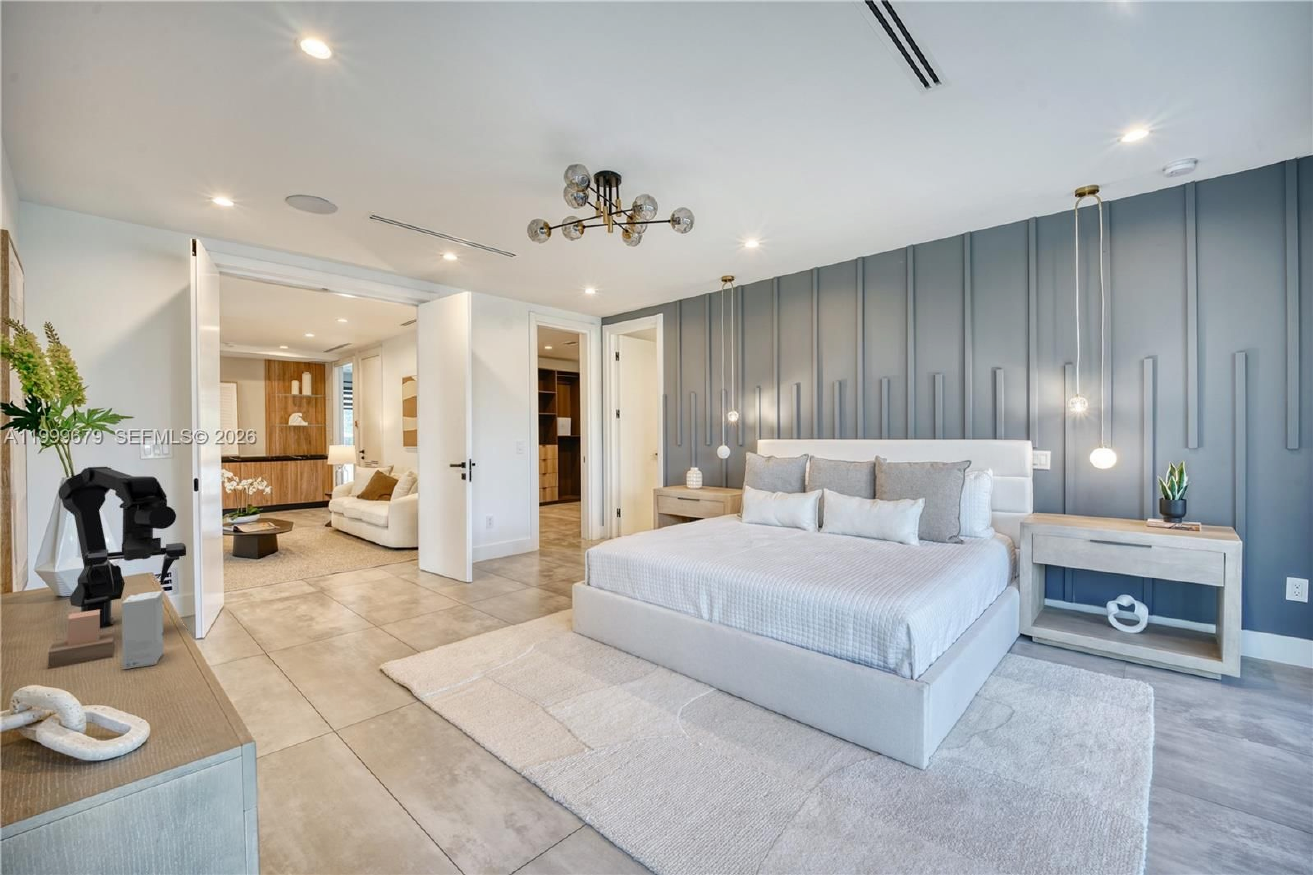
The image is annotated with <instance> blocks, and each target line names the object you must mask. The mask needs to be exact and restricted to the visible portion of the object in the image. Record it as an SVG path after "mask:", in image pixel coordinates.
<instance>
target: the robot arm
mask: <svg viewBox="0 0 1313 875" xmlns="http://www.w3.org/2000/svg"><path fill="white" fill-rule="evenodd" d="M110 490H112V491H115V494H114V495H115V497H118V498H119V499H120V500H121V502H122V503H120V504H119V508H120V509H122V540H121V542H122V543H121V551H112V552H109V549H108V548H107V544H106V543H107V542H106V538H105V534H104V528H103V523H102V519H101V518H102V517H101V513H100V511H101V508H102V506H103V505H104V504H105V503H106V502H105V501H106V495H107V494H108V493H109V491H110ZM58 497H59V499H60V500H61V502H62V506H63V509H66V511H68V512H69V513H71V515H73V516H74V517H73V518H74V520H75V521H74V522H75V527H76V532H77V537H78V542H79V548H80V554H81V558H82V559H81V560H82V563H83V564H82V565H83V569H82V570H81V573H80V574H79V576H78V578H77V580H76V582H77V585H76V587H75V589H74V590H73V592H72V593H71V595H70V596H69V601H70V606H73V607H77V608H80V612H86V611H93V610H100V628H103V627H109V626H114V617H112V601H115V600H121V599H122V597H123V593H124V587H125V584H126V583H125V579H124V577H123V575H122V568H121V567H120V565H117V564H116V565H115V564H113V563H112V562H111V561H113V560H122V559H124V561H127V562H130V561H135V560H146V559H150V558H151V557H154V556H163V560H162V567H161V572H160V578H159V579H160V580H159V583H160V585H161V586H162V585H163V584H164V581H165V580H166V576H167V574H168V572H169V570H170V568H171V566H172V564H173V563H174V562H175V561H178V560H180V557H185V556H187V546H186V544H185V543H184V542H178V543H177V542H175V543H174V542H173V543H165V547H162V546H161V545H162V537H154V529H157V530H165V529H167V528H170V527H171V526H172V525H174V523H175V521H176V519H177V514H176V512H175V510H174V509H173V508H172V507H170V506H168V500H167V497H168V495H167V494H166V493H165V491H164V490H163V488H162V485H161V483H160V482H159V481H158V479H157V478H156V477H155V476H147V475H145V476H140V475H138V476H134V475H130V474H127V473H124V472H121V471H118V470H115V469H113V468H111V467H108V466H88V467H85V468H84V469H82V471H81V472H80V473H78V474H75V475H73V476H71V477H69V478H67V479H66V480H65V481H64V482H63V483H62V485H61V486H60V487H59V489H58Z"/></svg>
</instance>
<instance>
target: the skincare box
mask: <svg viewBox="0 0 1313 875" xmlns="http://www.w3.org/2000/svg"><path fill="white" fill-rule="evenodd" d="M163 595H164V594H163V590H158V591H151V592H143V593H136V594H130V595H129V596H128V597H126V598H125V599H124V601H122V603H121V653H122V654H121V658H122V660H121V664H122V666H121V668H122V670H127V669H128V670H129V669H133V668H134V669H135V668H140V667H141V668H143V667H150V666H155V665H157V664H158V662H159V659H160V657H161V658H162V655H163V654H164V609H163V600H164V599H163V597H164V596H163Z"/></svg>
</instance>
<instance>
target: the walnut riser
mask: <svg viewBox="0 0 1313 875" xmlns="http://www.w3.org/2000/svg"><path fill="white" fill-rule="evenodd" d="M115 631H116V630H115V629H113V630H106V631H101V632H100V640H99V641H93V642H88V643H82V644H76V645H70V646H68V637H64V638H63V637H62V638H57V639H54V640H53V641H52V644H51V645H50V648H49V651H48V661H47V662H48V663H47V664H48V666H47V667H48V669H55V668H60V667H65V666H71V665H77V664H83V663H88V662H93V661H94V662H95V661H98V660H103V659H108V658H109V659H111V658H113V657H114V649H115V640H116V639H115V636H116V635H115ZM48 669H47V670H48Z"/></svg>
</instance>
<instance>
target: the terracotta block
mask: <svg viewBox="0 0 1313 875" xmlns="http://www.w3.org/2000/svg"><path fill="white" fill-rule="evenodd" d="M67 620H68V621H67V638H68V646H70V645H76V644H82V643H88V642H93V641H99V640H100V631H101V630H100V628H101V627H100V610H93V611H86V612H81V611H80V612H74V613H69V614H68V618H67Z"/></svg>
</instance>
